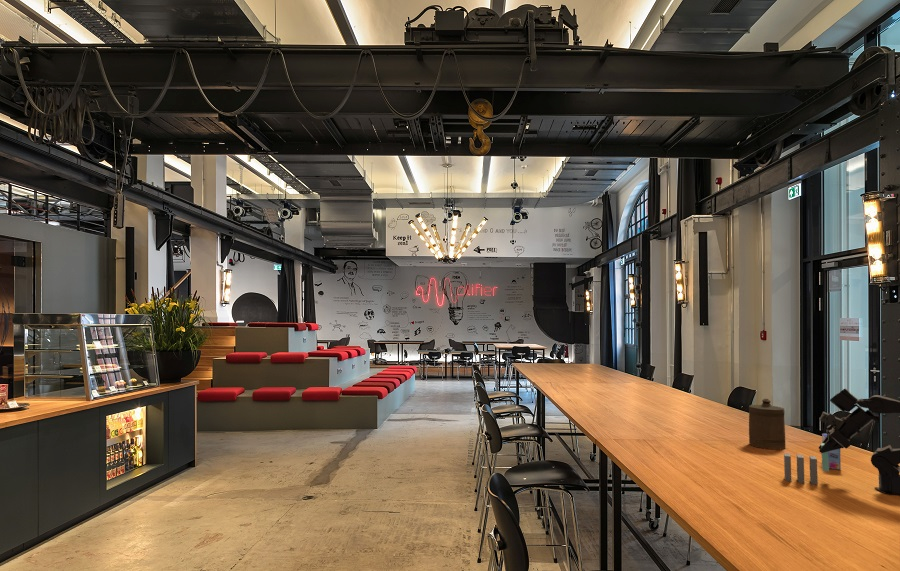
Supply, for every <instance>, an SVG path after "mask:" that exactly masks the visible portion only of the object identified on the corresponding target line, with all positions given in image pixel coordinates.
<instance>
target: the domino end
mask: <svg viewBox="0 0 900 571" xmlns="http://www.w3.org/2000/svg"><path fill="white" fill-rule="evenodd" d="M783 464H784V465H783V466H784V467H783V468H784V479H785V482H792V456H791V454H790V453H785V452H784V453H783Z"/></svg>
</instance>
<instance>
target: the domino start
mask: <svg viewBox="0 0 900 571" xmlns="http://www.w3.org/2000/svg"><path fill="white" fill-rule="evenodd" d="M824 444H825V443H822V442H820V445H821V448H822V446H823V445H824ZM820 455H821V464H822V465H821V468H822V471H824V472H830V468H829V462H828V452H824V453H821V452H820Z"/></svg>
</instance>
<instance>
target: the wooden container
mask: <svg viewBox="0 0 900 571" xmlns="http://www.w3.org/2000/svg"><path fill="white" fill-rule="evenodd" d="M771 401H772V400H770V399H769V398H763V399H762V401H761V402H762V403H761V404H750V405H749V406H748V436H749V437H748V440H749V441H748V442H749V446H752V447H754V446H755V448H758V447H759V449H764V448H765V450H775V449H779V450H784V449H787V448H786V447H787V446H786V426H785V425H786V424H785V414H786V412H785V408H784V407H781V406H775V405H772V404H771Z"/></svg>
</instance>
